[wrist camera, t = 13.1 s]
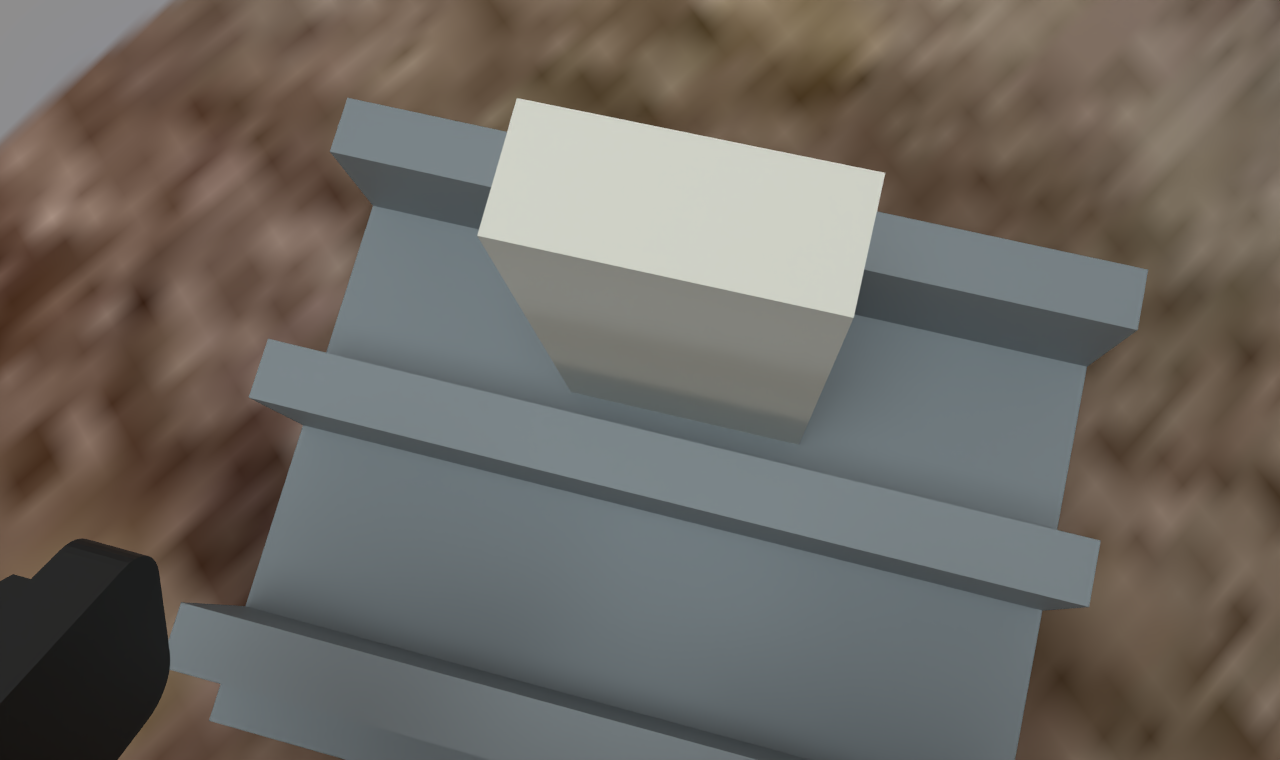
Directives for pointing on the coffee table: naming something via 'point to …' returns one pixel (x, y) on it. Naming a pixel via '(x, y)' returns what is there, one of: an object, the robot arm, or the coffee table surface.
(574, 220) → the off-white rectangular block
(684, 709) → the ribbed grey platform
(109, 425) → the coffee table surface
